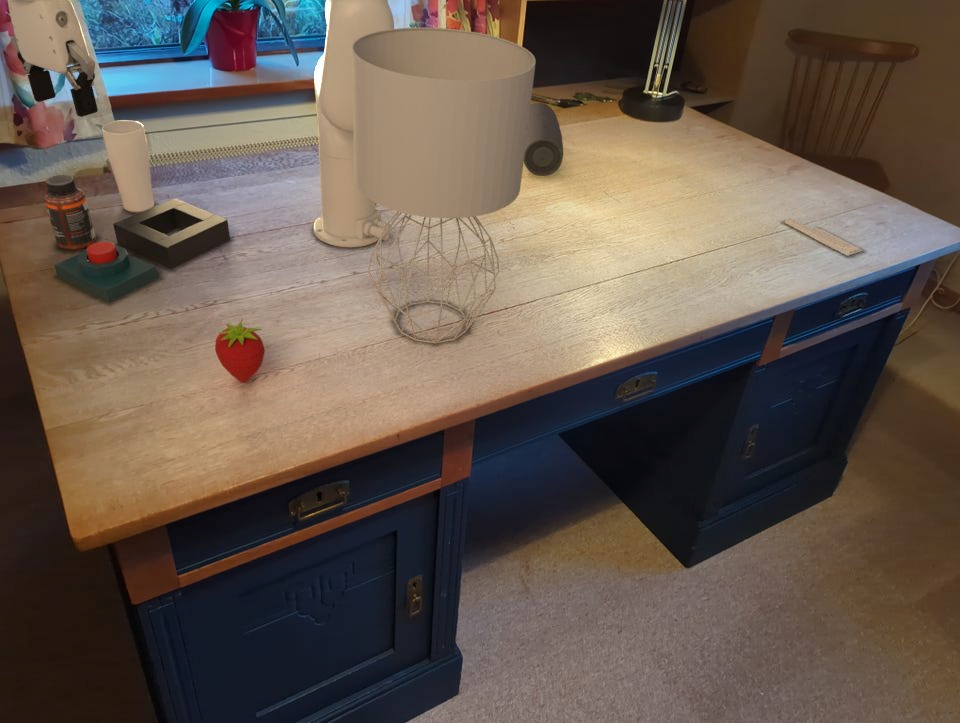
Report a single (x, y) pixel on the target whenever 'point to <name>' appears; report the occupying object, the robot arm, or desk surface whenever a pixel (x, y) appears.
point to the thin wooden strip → (825, 238)
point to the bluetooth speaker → (543, 141)
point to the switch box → (107, 274)
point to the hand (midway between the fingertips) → (66, 106)
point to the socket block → (171, 251)
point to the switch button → (101, 252)
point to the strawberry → (240, 351)
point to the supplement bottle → (68, 213)
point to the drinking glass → (129, 163)
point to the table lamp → (439, 136)
